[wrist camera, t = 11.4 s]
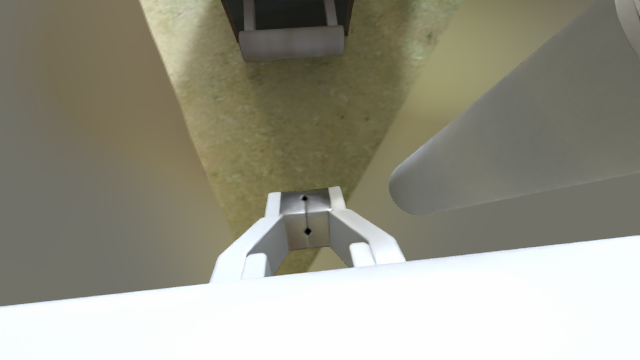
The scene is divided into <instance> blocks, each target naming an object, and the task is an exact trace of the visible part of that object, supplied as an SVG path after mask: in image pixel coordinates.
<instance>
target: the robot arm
mask: <svg viewBox="0 0 640 360" xmlns="http://www.w3.org/2000/svg"><path fill="white" fill-rule="evenodd" d="M330 246H331V248H332V249H333V251H334V252H335V253H336V254H337V255H338V256H339V257H340V258H341V259H342V260H343V261H344V262H345V264H346V265H347V266H348V267H349V268H344V269H335V270H326V271H316V272H307V273H298V274H289V275H280V276H274V274H275V273H276V271H277V270H278V268H279V267H280V265H281V264H282V262H283V261H284V259H285V258H286V256H287V254H288V253H289V251H292V250H299V249H307V248H317V247H330ZM0 360H640V235H639V236H630V237H622V238H613V239H604V240H595V241H586V242H576V243H568V244H559V245H550V246H541V247H532V248H523V249H514V250H505V251H496V252H488V253H478V254H470V255H461V256H451V257H442V258H433V259H425V260H416V261H407V262H406V260H405V258H404V256H403V254H402V252H401V250H400V248H399V246H398V244H397V242H396V240H395V238H394V237H392V236H391V235H389V234H388V233H386V232H385V231H383V230H381V229H380V228H378V227H377V226H375V225H374V224H372V223H371V222H369V221H368V220H366V219H365V218H363V217H362V216H360V215H359V214H357V213H356V212H354V211H352V210H351V209H347V208H346V205H345V201H344V198H343V195H342V191H341V188H340V187H339V186H337V187H329V188H322V189H314V190H301V191H287V192H275V193H269V194H268V199H267V205H266V211H265V217H264V218H260V219H259V220H258V221H257V222H256V223H255V224H254V225H253V226H251V227H250V228H249V229H248V230H247V231H246V232H245V233H244V234H243V235H242V236H240V237H239V238H238V239H237V240H236V241H235V242H234V243H233V244H232V245H230V246H229V247H228V248H227V249H226V250H225V251H224V252H223V253H222V254H221V255H220V256H218V258H217V262H216V264H215V267H214V270H213V273H212V276H211V279H210V282H209V284H200V285H191V286H182V287H173V288H164V289H155V290H145V291H136V292H127V293H119V294H109V295H101V296H93V297H92V296H91V297H82V298H74V299H65V300H56V301H47V302H38V303H29V304H20V305H11V306H2V307H0Z"/></svg>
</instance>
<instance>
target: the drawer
mask: <svg viewBox="0 0 640 360" xmlns="http://www.w3.org/2000/svg"><path fill="white" fill-rule="evenodd" d="M225 2H226V5H227V7H228V10H229V13H230V15H231V18H232V21H233V23H234V26H235V29H236V31H237V34H238V37H239V43H240V49H241V53H242V56H243V59H244V61H245V62H251V61H266V60H280V59H295V58H310V57H324V56H339V55H343V52H344V35H345V28H346V22H347V15H348V9H349V2H350V0H225Z"/></svg>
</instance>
